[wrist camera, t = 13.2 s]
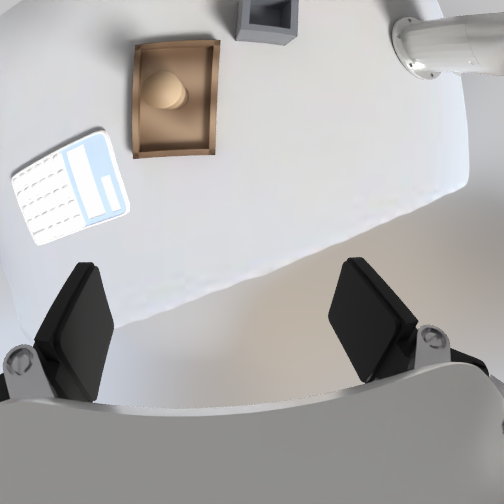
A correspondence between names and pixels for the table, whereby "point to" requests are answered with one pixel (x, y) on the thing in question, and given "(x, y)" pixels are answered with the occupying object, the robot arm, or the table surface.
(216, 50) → the tray
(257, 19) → the pen cup
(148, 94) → the dowel
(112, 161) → the calculator
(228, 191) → the table surface
